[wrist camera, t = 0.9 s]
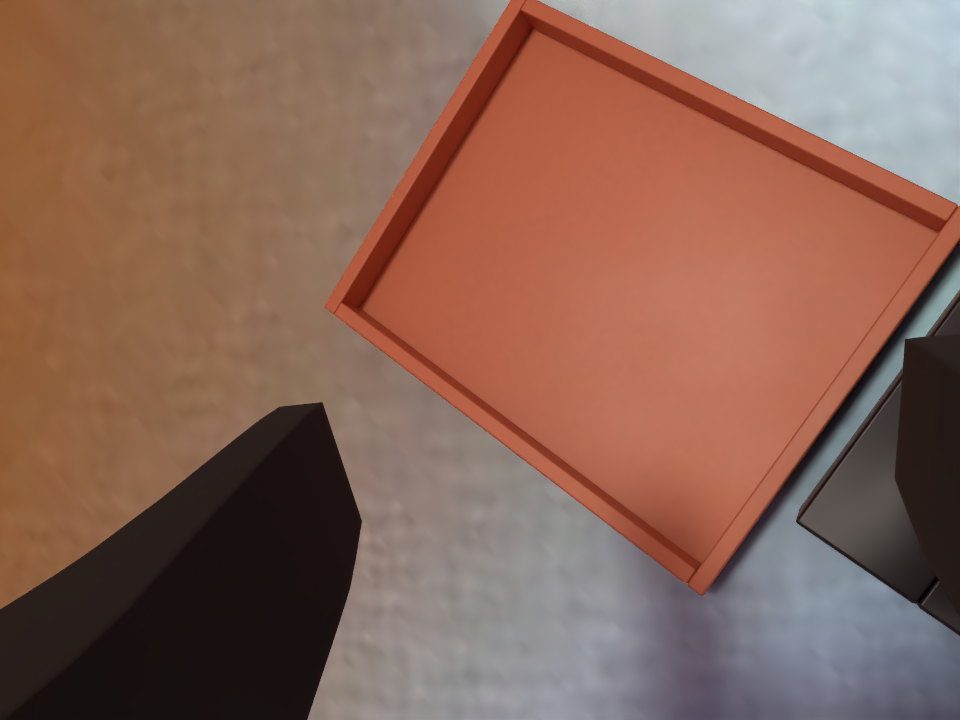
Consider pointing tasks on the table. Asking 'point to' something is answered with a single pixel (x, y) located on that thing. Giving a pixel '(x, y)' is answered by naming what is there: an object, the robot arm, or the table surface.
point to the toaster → (879, 503)
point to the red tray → (639, 280)
